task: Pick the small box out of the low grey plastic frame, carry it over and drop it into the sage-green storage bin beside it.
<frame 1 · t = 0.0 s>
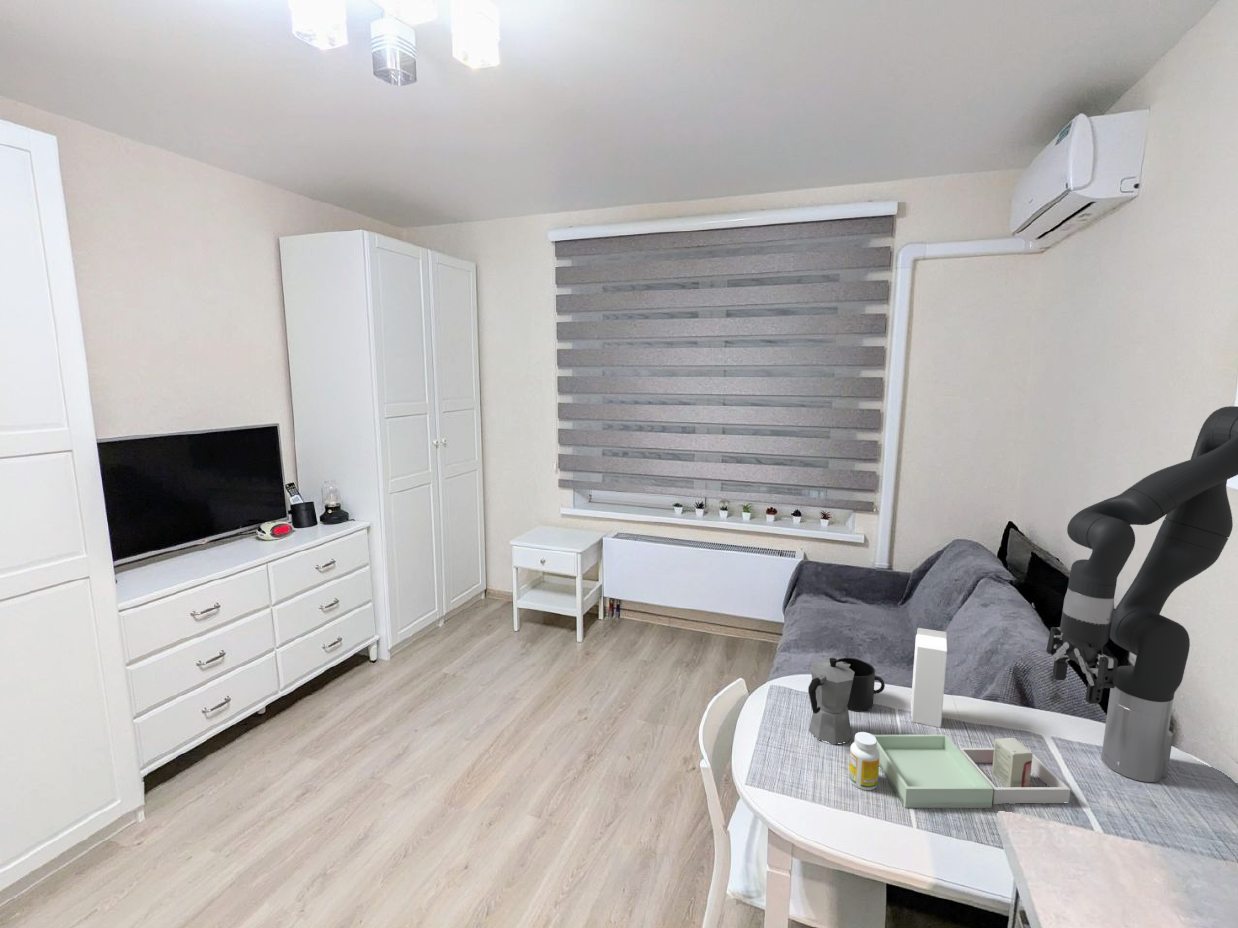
hand: (1074, 690, 114), 17 cm above the table, tool pointing down, fingers open, 8 cm apart
supplement bottle: (862, 782, 114), on the table
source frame: (1010, 780, 113), on the table
milk: (925, 718, 134), on the table
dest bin: (926, 777, 115), on the table
small box: (1009, 782, 113), resting in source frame
coffeepot: (827, 735, 129), on the table
mug: (857, 701, 141), on the table
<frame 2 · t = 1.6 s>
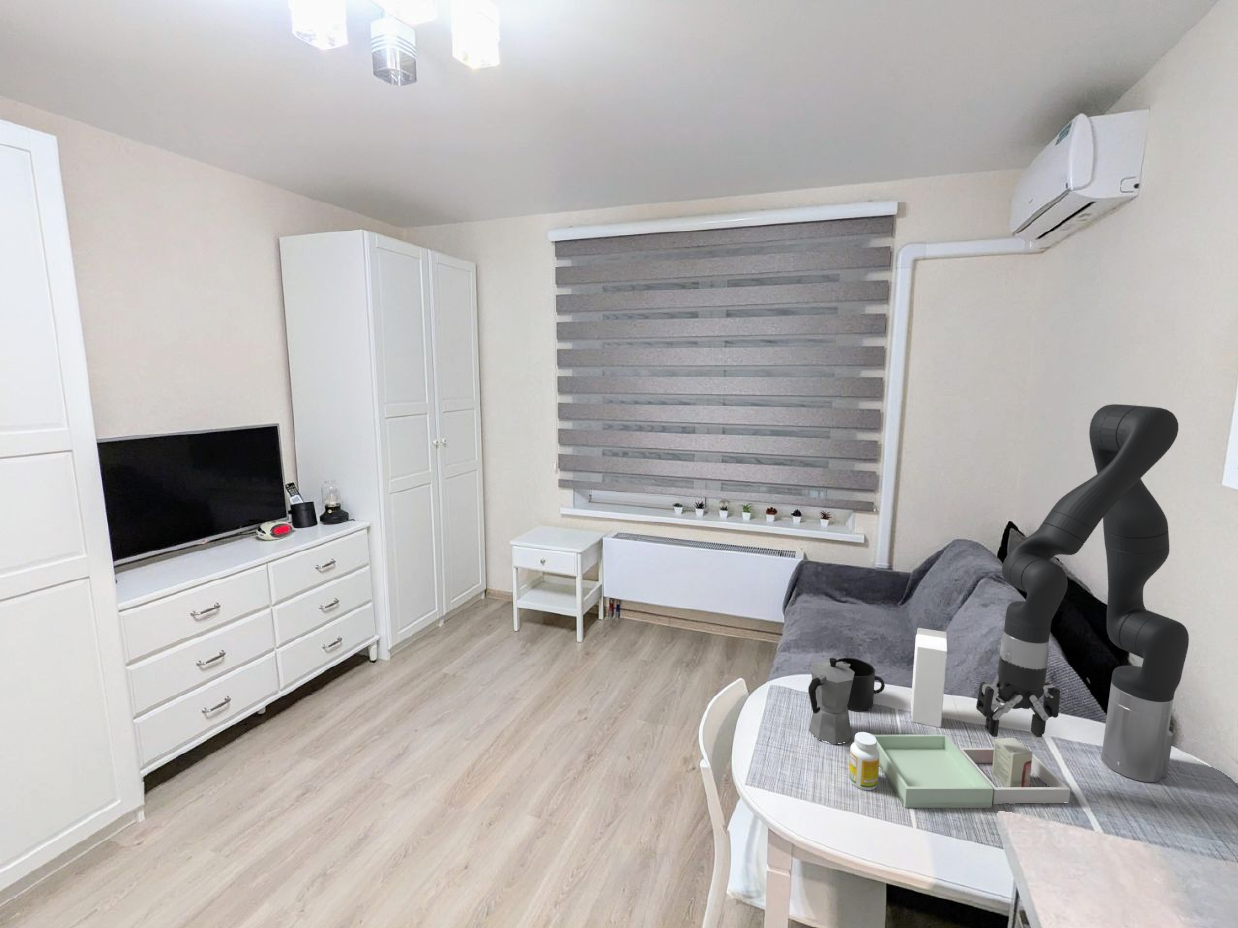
hand: (1013, 734, 111), 10 cm above the table, tool pointing down, fingers open, 8 cm apart
nothing on the table moved.
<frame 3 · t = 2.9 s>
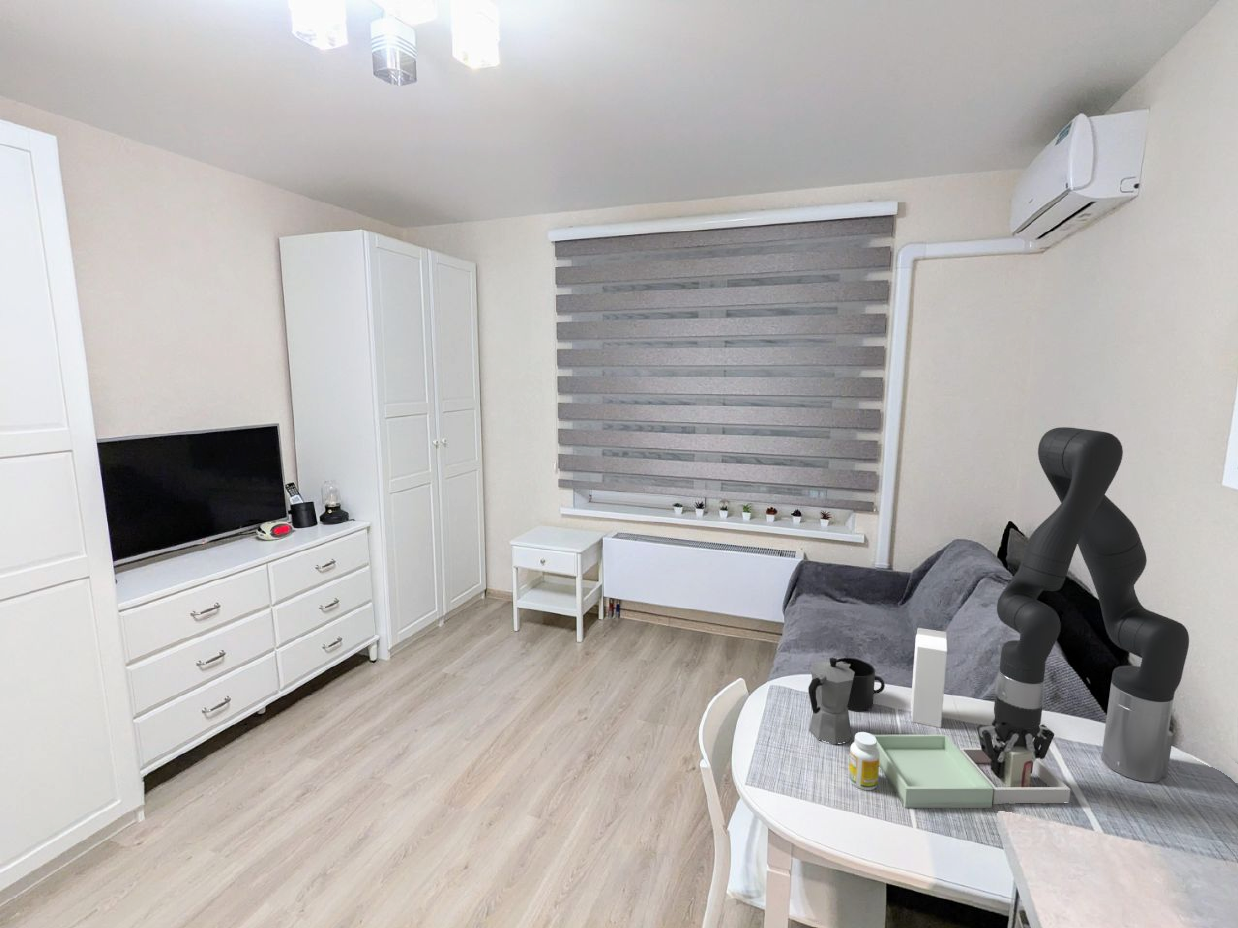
hand: (1010, 774, 113), 1 cm above the table, tool pointing down, fingers closed on small box, 4 cm apart
small box: (1009, 781, 113), resting in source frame, touching gripper
everything else where it was.
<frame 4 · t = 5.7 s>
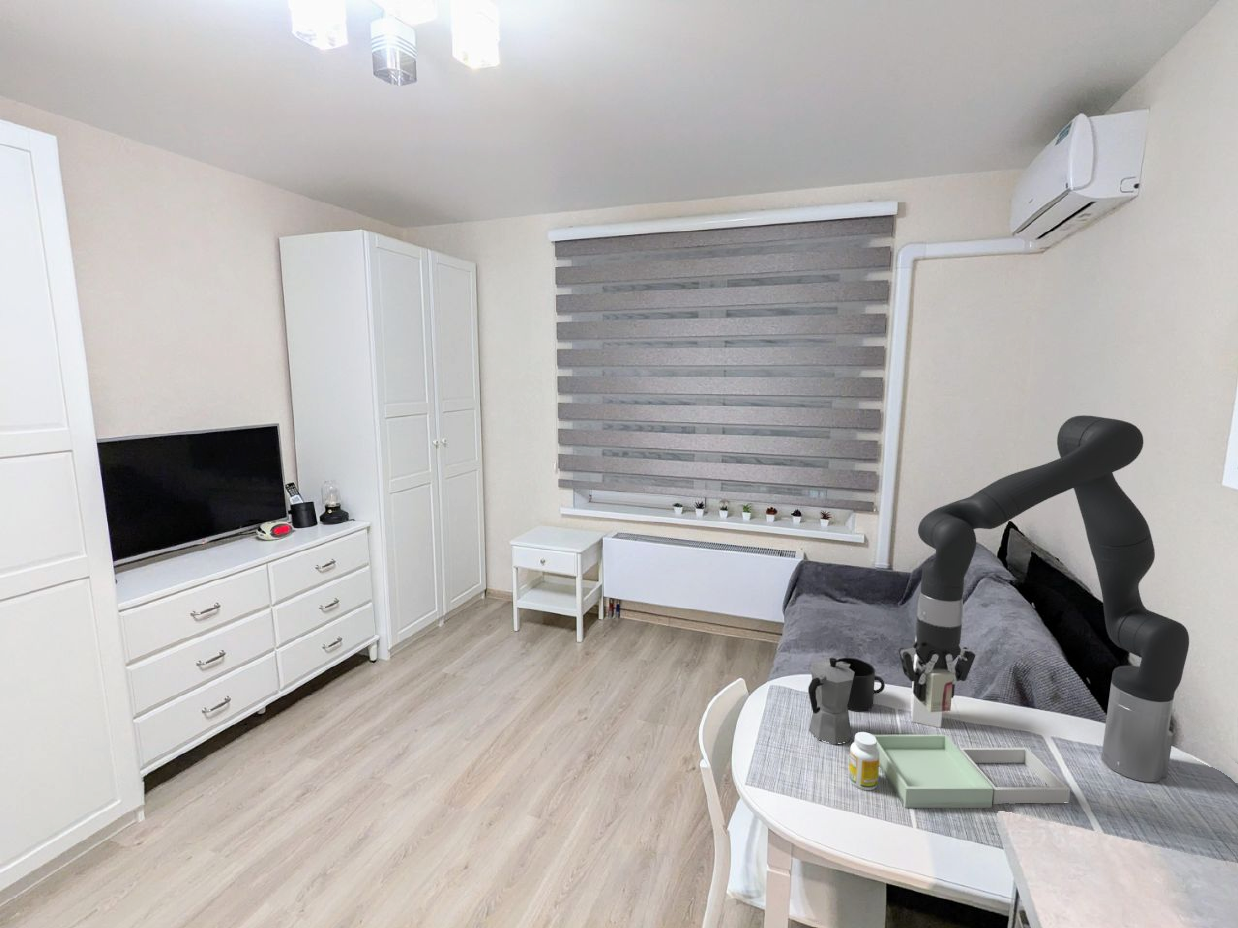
hand: (932, 698, 112), 17 cm above the table, tool pointing down, fingers closed on small box, 4 cm apart
small box: (932, 705, 112), point 16 cm above the table, touching gripper
everything else where it was.
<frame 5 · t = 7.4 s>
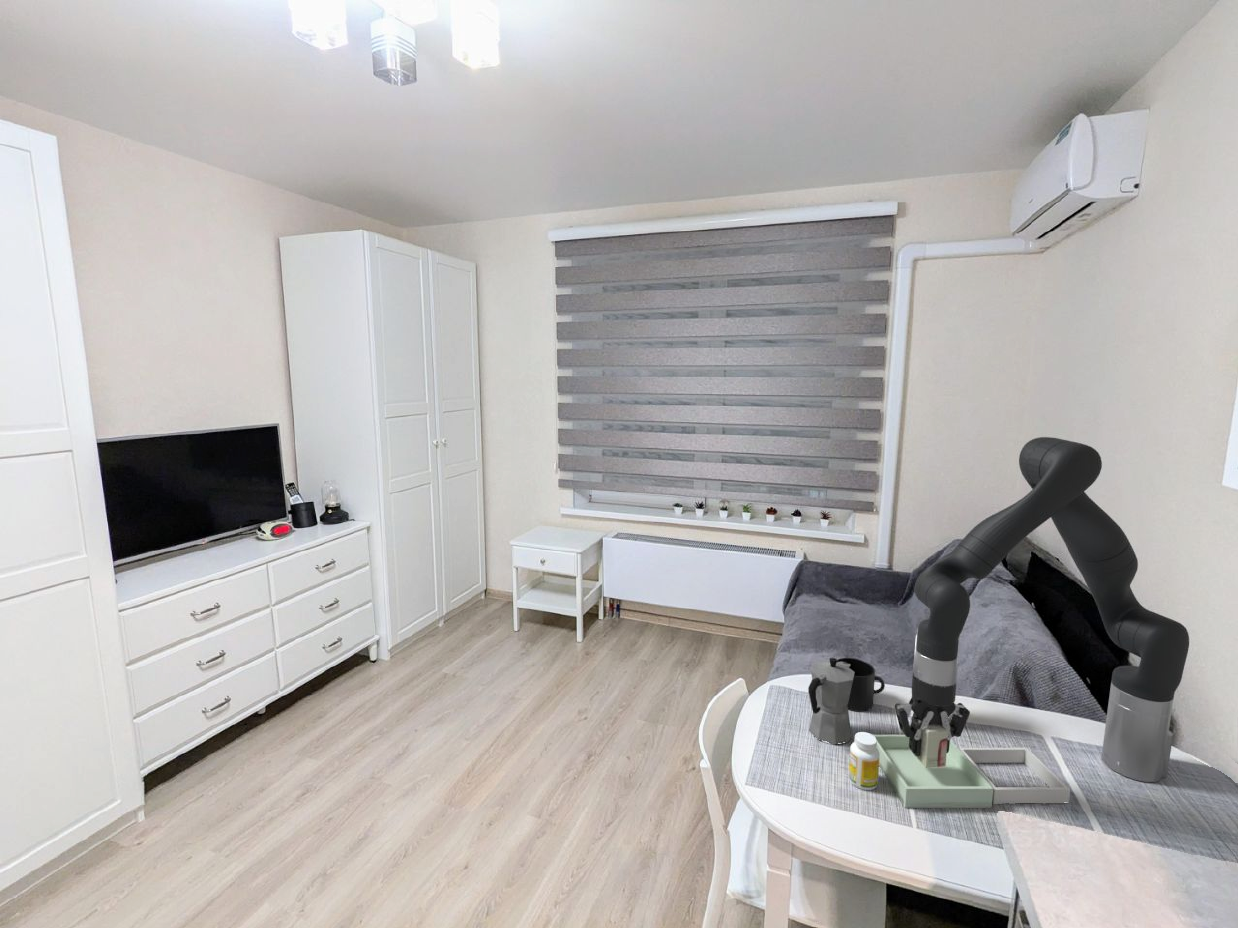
hand: (928, 753, 114), 5 cm above the table, tool pointing down, fingers closed on small box, 4 cm apart
small box: (927, 760, 114), point 4 cm above the table, touching gripper
everything else where it was.
when the fingers open (4 cm above the table, at t = 8.5 s): small box drops 2 cm, resting on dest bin.
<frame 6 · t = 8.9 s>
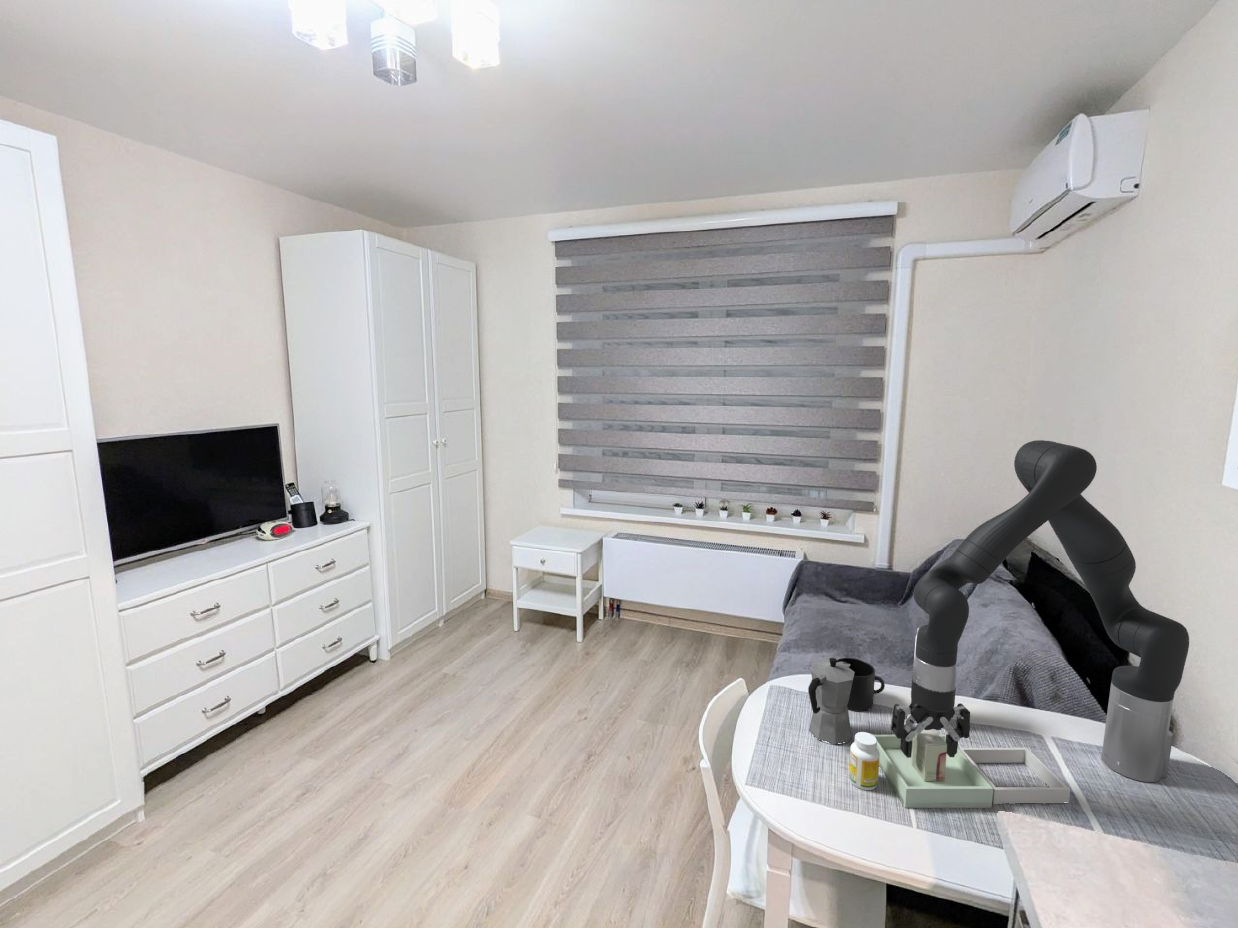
hand: (927, 754, 114), 5 cm above the table, tool pointing down, fingers open, 8 cm apart
small box: (927, 773, 114), point 1 cm above the table, touching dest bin
everything else where it was.
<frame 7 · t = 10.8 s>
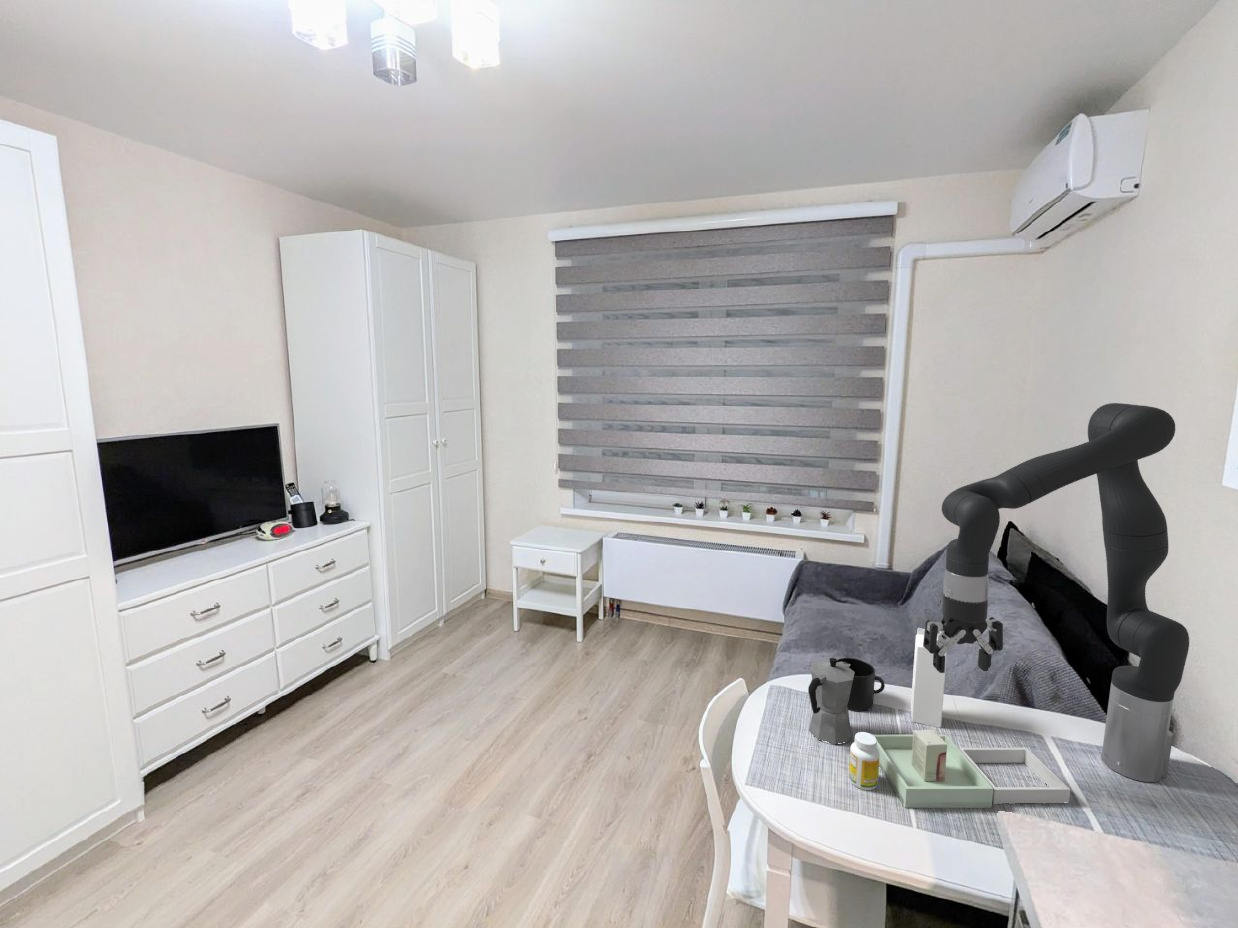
hand: (961, 670, 113), 22 cm above the table, tool pointing down, fingers open, 8 cm apart
nothing on the table moved.
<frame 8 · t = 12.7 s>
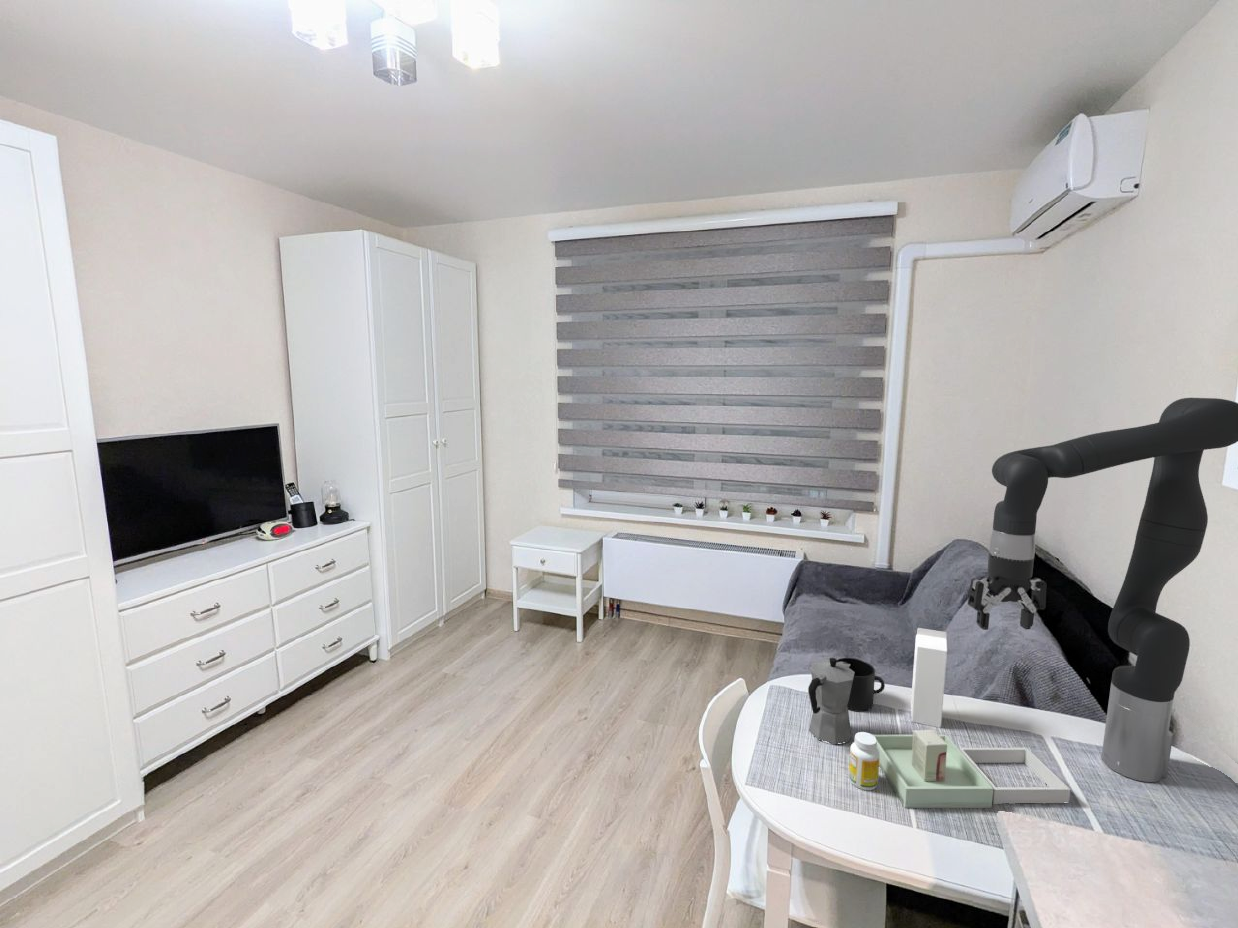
hand: (1003, 627, 118), 28 cm above the table, tool pointing down, fingers open, 8 cm apart
nothing on the table moved.
at the end: small box inside the target area on the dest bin (0.1 cm from its centre), point 1.0 cm above the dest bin's base; the gripper is holding nothing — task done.
